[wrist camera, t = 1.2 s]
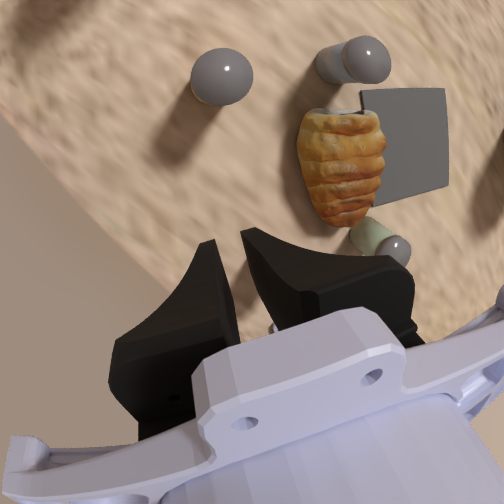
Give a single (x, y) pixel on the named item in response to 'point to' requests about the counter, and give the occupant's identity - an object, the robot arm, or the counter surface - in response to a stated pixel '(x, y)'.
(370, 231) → the jar sage
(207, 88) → the jar mustard
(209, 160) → the counter surface
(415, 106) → the slate mat
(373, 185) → the pastry
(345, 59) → the jar slate blue
